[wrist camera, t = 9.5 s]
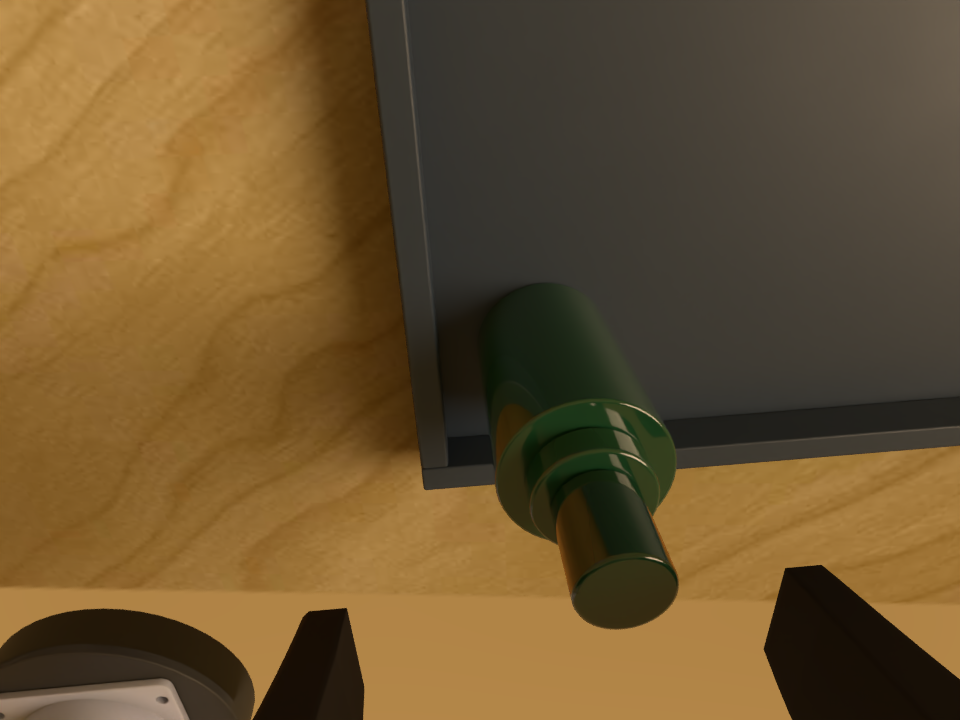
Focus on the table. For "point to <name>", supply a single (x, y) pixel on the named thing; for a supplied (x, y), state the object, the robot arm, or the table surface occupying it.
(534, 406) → the bottle
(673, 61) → the tray
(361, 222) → the table surface
